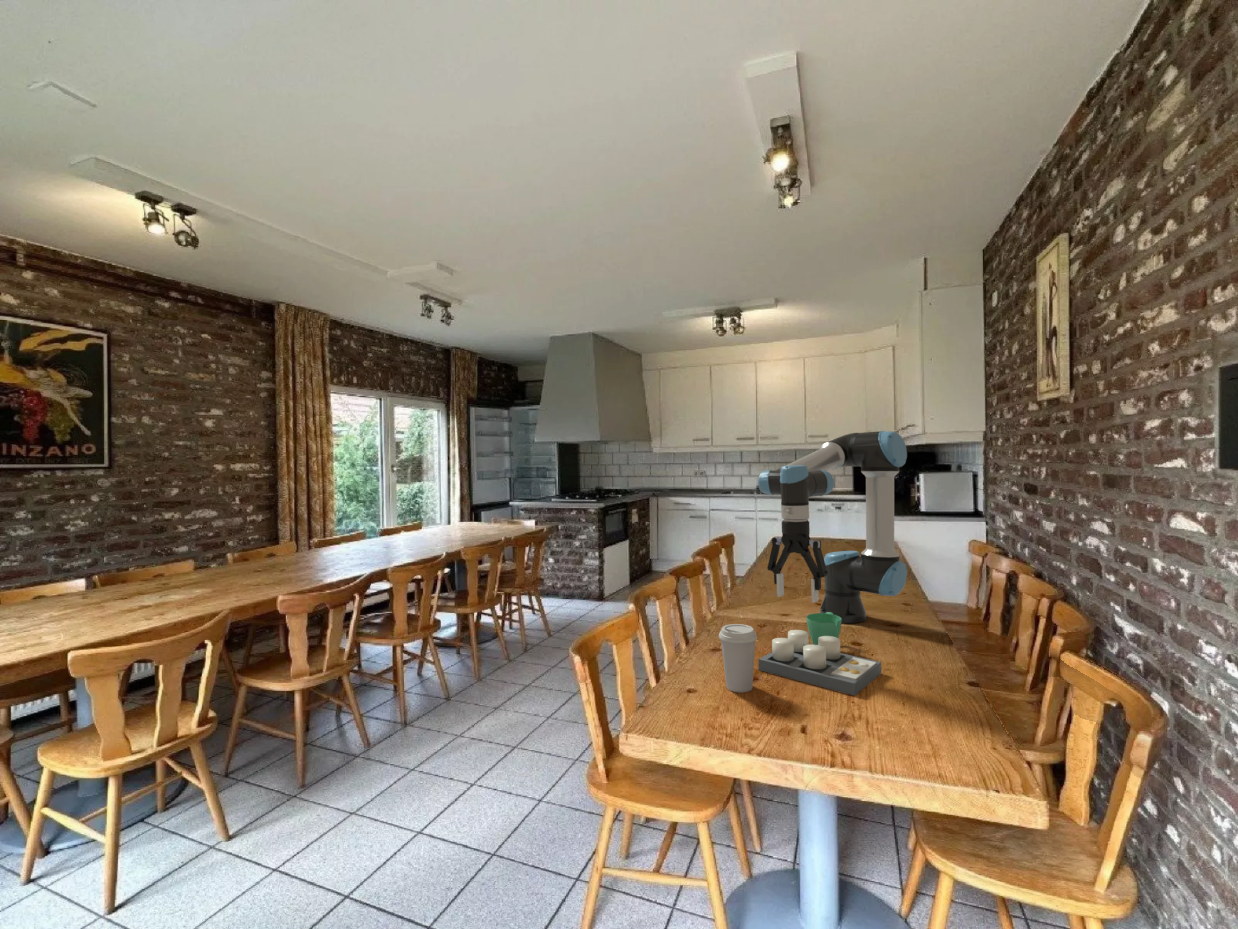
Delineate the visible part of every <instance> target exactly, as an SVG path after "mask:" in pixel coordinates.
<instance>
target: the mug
mask: <svg viewBox="0 0 1238 929" xmlns="http://www.w3.org/2000/svg"><path fill="white" fill-rule="evenodd" d="M805 620H806V625H807V629H808V633H809V636H810V638H811V643H812V645H818V638H819V637H821V636H833V637H837V638H839V637H840V634H841V629H842V628H841V627H842V623H841V622H842V621H841V618H840V617H839V616H837V615H834V614H833V613H831V612H827V613H820V612H815V613H810V614H808V615H806V618H805ZM839 639H840V638H839Z"/></svg>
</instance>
